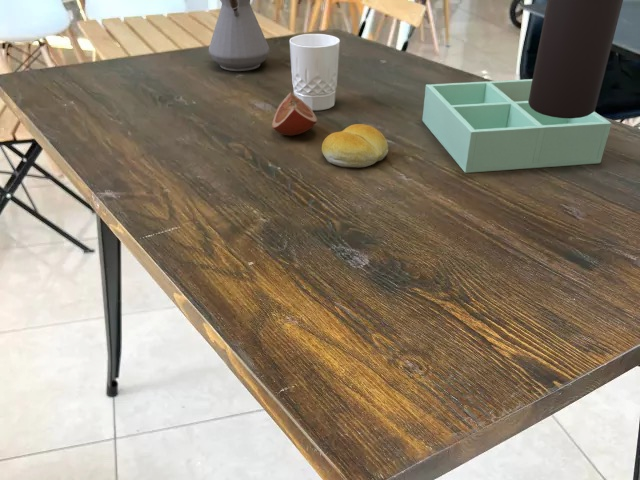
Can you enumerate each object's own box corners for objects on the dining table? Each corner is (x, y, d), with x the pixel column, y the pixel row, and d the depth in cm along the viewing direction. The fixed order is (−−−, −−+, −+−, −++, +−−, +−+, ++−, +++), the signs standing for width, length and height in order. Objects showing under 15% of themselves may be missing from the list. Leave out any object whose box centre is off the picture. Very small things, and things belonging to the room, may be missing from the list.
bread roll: (310, 157, 90) (310, 129, 87) (354, 140, 95) (355, 113, 92) (354, 176, 85) (355, 146, 82) (398, 156, 90) (400, 128, 87)
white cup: (322, 115, 103) (323, 49, 97) (281, 106, 106) (279, 42, 100) (347, 101, 108) (349, 38, 102) (307, 93, 111) (306, 31, 105)
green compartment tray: (538, 114, 104) (546, 78, 100) (600, 163, 88) (611, 123, 85) (422, 121, 101) (425, 84, 98) (465, 173, 86) (471, 132, 82)
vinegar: (527, 95, 71) (569, -125, 59) (592, 100, 70) (649, -125, 58) (527, 116, 66) (572, -120, 54) (597, 122, 65) (659, -119, 52)
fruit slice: (271, 123, 100) (270, 90, 97) (315, 122, 100) (315, 89, 97) (273, 144, 93) (271, 109, 90) (319, 143, 94) (319, 108, 91)
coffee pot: (211, 57, 128) (203, -28, 119) (269, 56, 129) (266, -29, 120) (204, 92, 111) (195, -4, 102) (271, 90, 112) (267, -5, 103)
